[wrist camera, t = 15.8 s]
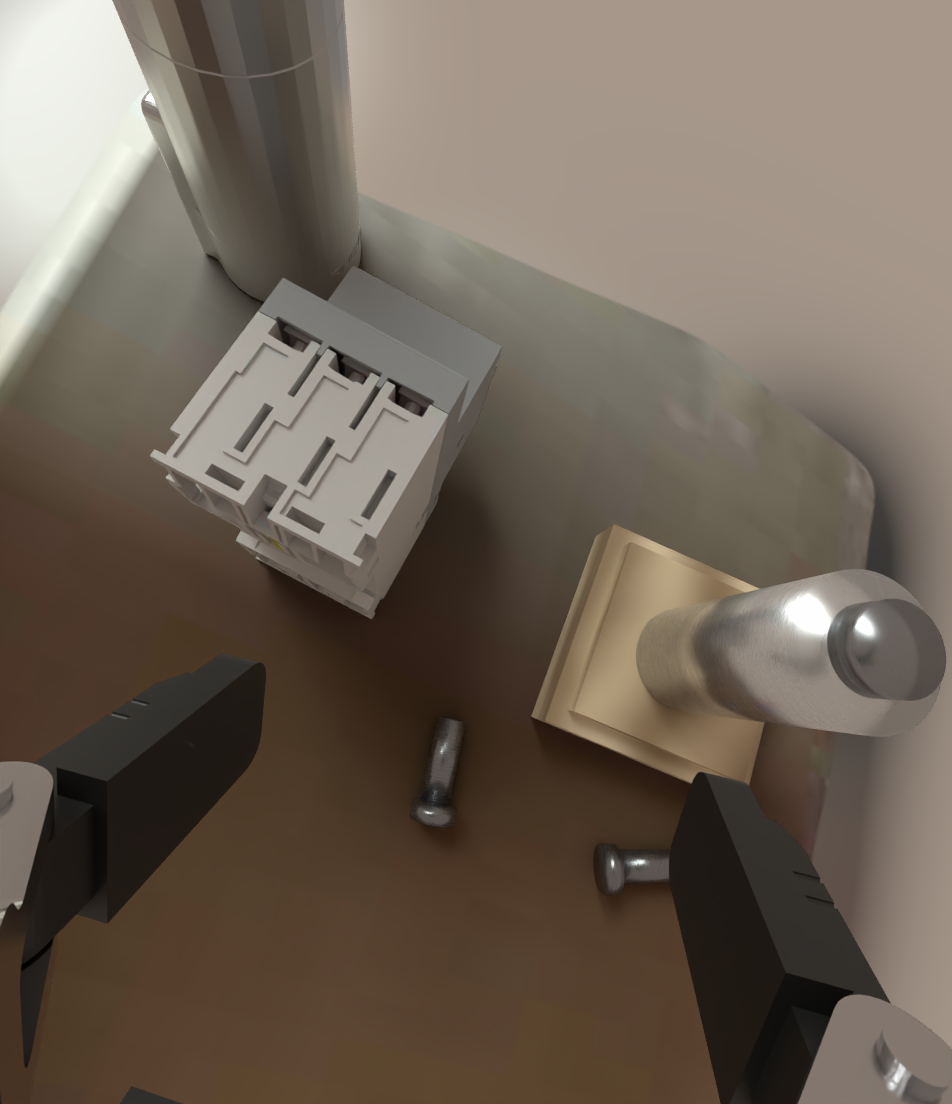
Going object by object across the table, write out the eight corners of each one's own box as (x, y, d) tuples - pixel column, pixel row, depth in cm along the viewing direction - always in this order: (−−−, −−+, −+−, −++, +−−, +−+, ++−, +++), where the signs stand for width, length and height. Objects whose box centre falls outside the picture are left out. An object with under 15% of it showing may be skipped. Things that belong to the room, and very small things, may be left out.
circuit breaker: (480, 426, 36) (540, 256, 21) (371, 619, 32) (355, 573, 17) (378, 370, 35) (369, 161, 21) (257, 559, 32) (144, 462, 17)
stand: (531, 716, 32) (550, 722, 28) (595, 536, 35) (620, 519, 31) (713, 793, 33) (756, 809, 29) (760, 609, 36) (805, 601, 32)
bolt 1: (451, 818, 30) (456, 830, 28) (408, 810, 30) (410, 821, 28) (470, 722, 32) (477, 726, 29) (430, 713, 31) (433, 717, 29)
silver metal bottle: (623, 688, 29) (805, 699, 16) (653, 592, 31) (842, 535, 18) (716, 728, 29) (965, 769, 17) (741, 631, 31) (988, 602, 18)
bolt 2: (593, 885, 31) (610, 902, 28) (593, 838, 31) (609, 851, 29) (680, 884, 31) (703, 900, 29) (678, 838, 32) (701, 851, 30)
